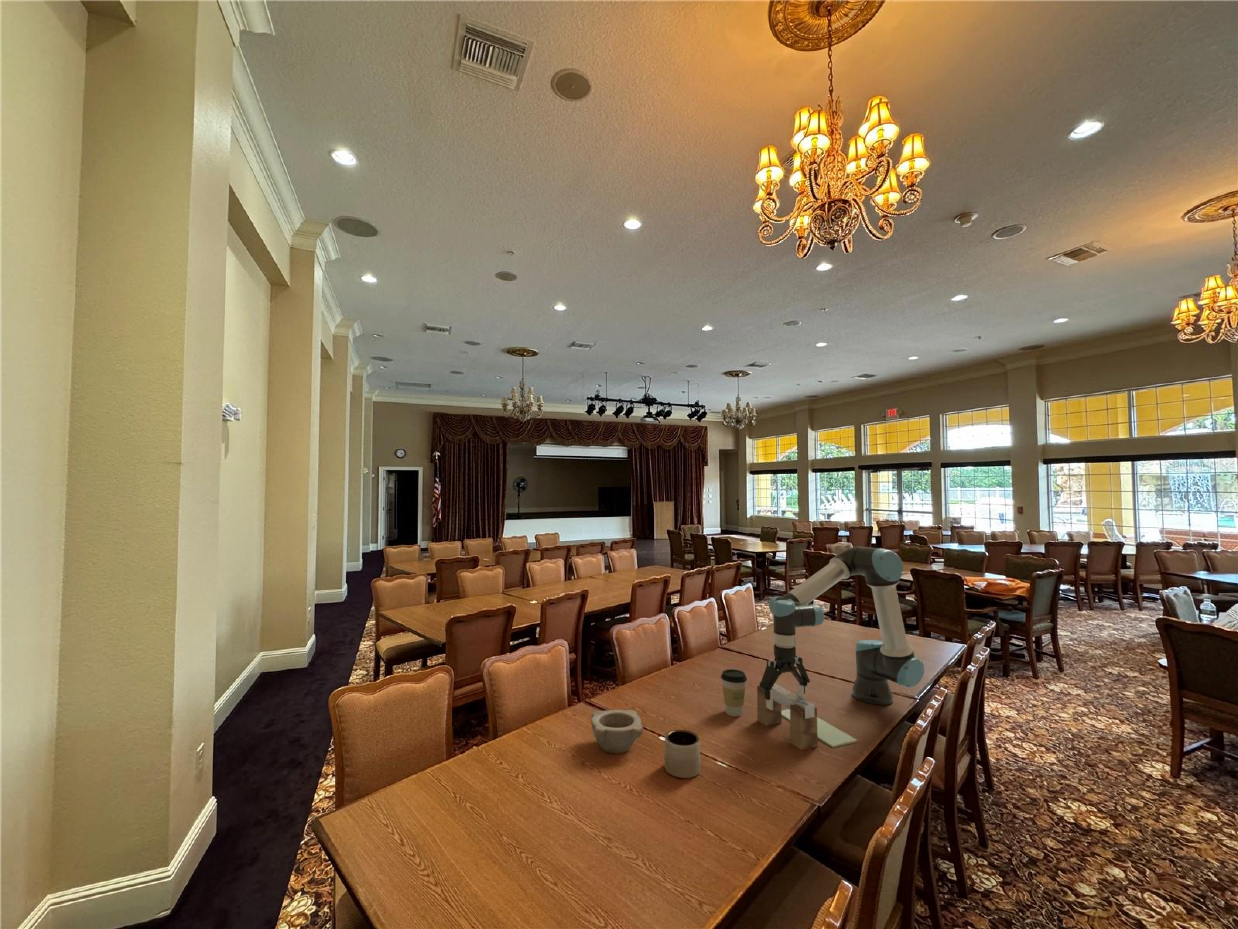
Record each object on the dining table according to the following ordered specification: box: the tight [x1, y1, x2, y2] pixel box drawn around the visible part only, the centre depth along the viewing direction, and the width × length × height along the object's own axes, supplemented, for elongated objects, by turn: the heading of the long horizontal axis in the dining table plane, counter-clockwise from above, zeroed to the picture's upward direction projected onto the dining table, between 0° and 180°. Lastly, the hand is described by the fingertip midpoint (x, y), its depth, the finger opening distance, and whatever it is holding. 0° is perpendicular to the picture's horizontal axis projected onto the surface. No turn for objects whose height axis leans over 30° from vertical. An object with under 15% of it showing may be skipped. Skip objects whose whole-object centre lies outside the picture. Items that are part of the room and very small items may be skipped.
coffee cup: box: [720, 668, 748, 717], centre depth 189 cm, size 10×10×15 cm
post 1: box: [756, 685, 783, 727], centre depth 182 cm, size 7×5×12 cm
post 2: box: [789, 705, 819, 751], centre depth 165 cm, size 7×5×12 cm
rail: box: [759, 680, 815, 719], centre depth 174 cm, size 24×4×4 cm, turn 21°
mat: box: [781, 708, 858, 748], centre depth 178 cm, size 11×28×1 cm, turn 21°
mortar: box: [590, 709, 644, 755], centre depth 163 cm, size 17×17×9 cm
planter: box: [664, 729, 701, 779], centre depth 150 cm, size 11×11×10 cm
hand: (785, 706), depth 174 cm, fingers open, 13 cm apart
